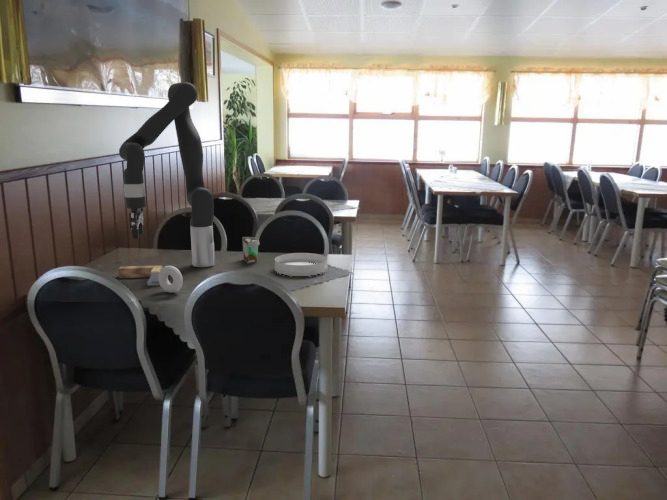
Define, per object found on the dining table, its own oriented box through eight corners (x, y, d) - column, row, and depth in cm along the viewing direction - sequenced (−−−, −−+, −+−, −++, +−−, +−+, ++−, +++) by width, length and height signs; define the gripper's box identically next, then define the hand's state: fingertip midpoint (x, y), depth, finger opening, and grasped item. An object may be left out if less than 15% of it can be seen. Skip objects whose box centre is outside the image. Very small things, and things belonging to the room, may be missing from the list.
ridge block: (167, 279, 215) (166, 265, 214) (164, 285, 207) (163, 270, 206) (151, 279, 214) (150, 266, 213) (147, 285, 206) (146, 271, 205)
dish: (312, 280, 216) (312, 267, 215) (264, 273, 225) (264, 261, 224) (336, 267, 235) (336, 255, 234) (290, 261, 244) (290, 250, 243)
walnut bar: (162, 274, 222) (162, 265, 221) (161, 277, 219) (160, 267, 218) (121, 276, 220) (120, 266, 219) (119, 278, 217) (118, 268, 216)
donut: (185, 293, 198) (184, 266, 196) (179, 295, 195) (177, 268, 192) (163, 289, 202) (161, 263, 199) (157, 292, 199) (155, 265, 196)
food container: (263, 263, 239) (262, 241, 237) (249, 265, 237) (248, 242, 235) (256, 257, 250) (255, 236, 248) (242, 258, 248) (242, 236, 246)
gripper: (141, 197, 206) (144, 240, 209) (148, 192, 220) (151, 232, 223) (120, 197, 205) (123, 240, 208) (128, 193, 219) (132, 233, 222)
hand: (138, 236), depth 216 cm, fingers open, 8 cm apart
